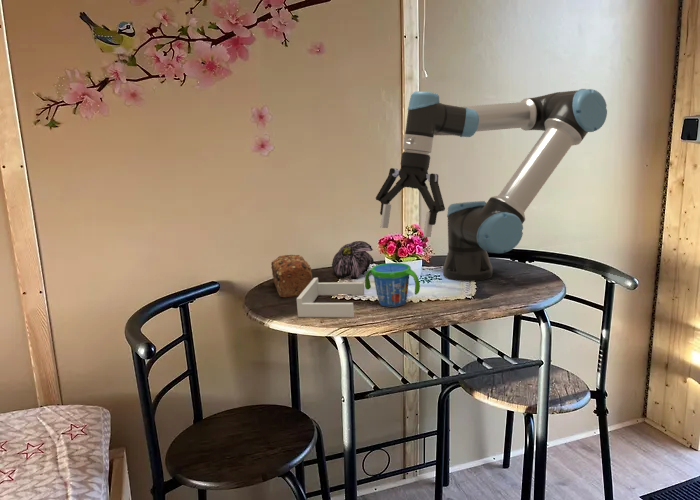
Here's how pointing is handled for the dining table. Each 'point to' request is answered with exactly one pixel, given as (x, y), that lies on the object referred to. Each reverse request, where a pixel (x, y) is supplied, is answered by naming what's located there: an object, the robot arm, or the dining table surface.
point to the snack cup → (392, 283)
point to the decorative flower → (352, 260)
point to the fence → (327, 309)
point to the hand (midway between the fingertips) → (404, 232)
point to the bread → (291, 275)
